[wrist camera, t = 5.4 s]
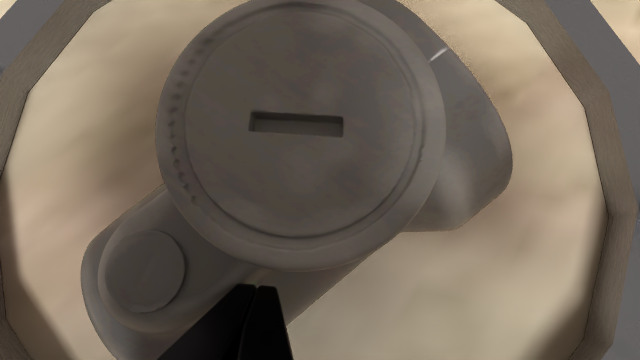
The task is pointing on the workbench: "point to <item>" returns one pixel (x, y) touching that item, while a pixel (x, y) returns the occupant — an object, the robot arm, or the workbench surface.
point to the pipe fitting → (292, 164)
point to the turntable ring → (565, 51)
